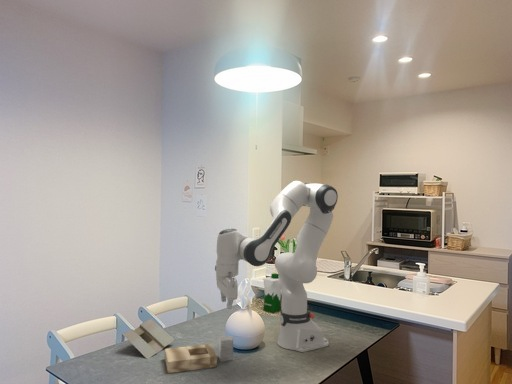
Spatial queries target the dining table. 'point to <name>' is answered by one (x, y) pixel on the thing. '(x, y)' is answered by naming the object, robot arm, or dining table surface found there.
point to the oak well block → (190, 358)
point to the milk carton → (272, 294)
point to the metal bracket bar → (225, 348)
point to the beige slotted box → (149, 338)
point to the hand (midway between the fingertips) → (226, 304)
